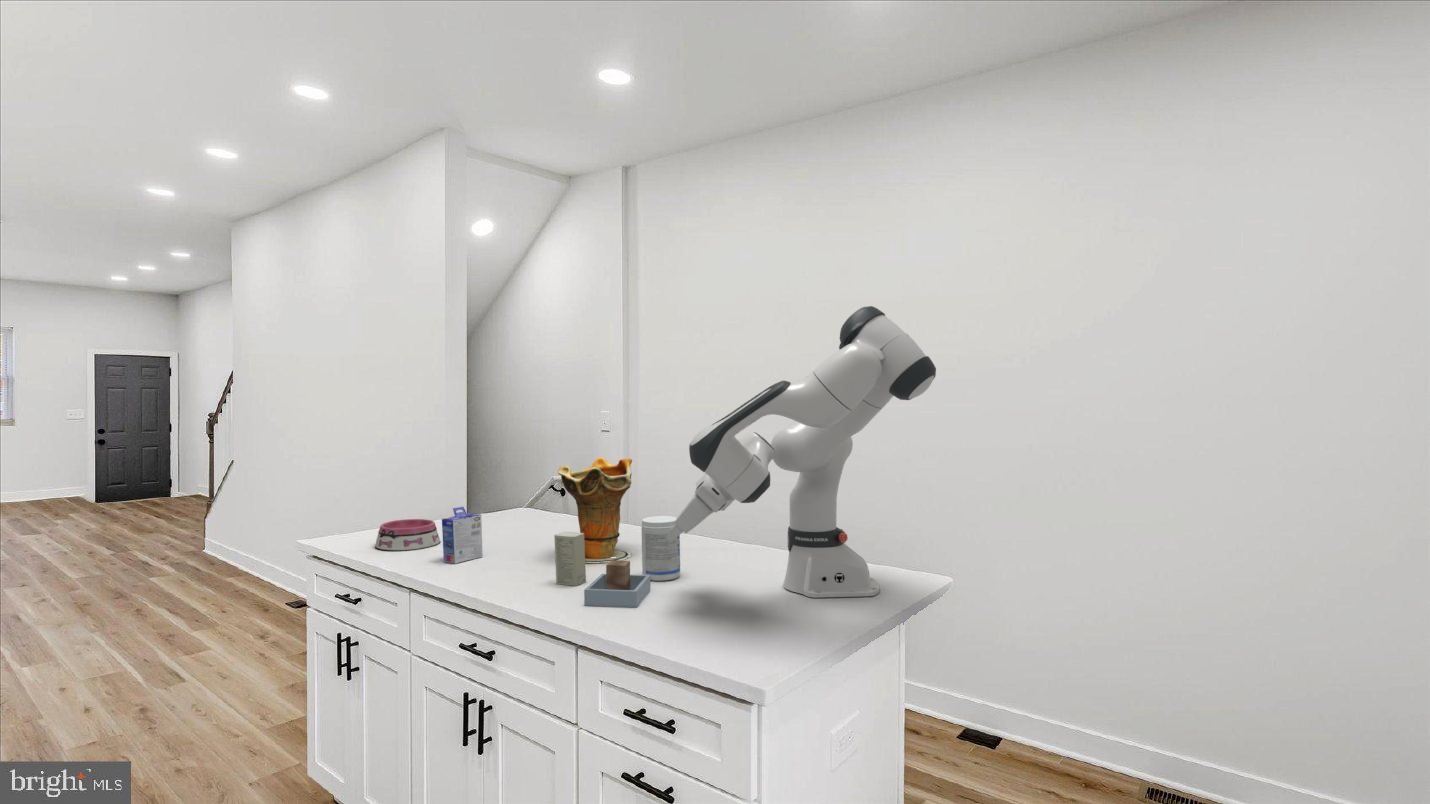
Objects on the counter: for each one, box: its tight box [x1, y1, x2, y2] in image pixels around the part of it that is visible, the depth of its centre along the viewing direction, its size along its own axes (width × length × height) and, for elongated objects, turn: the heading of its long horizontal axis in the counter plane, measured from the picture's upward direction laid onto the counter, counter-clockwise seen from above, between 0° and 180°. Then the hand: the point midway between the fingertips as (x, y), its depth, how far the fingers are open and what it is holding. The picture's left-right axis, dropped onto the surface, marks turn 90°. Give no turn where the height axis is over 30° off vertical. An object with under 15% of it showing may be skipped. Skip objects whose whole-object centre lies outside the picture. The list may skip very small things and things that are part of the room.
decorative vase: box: [557, 456, 633, 564], centre depth 207 cm, size 21×23×28 cm
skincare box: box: [553, 531, 587, 587], centre depth 180 cm, size 6×4×12 cm
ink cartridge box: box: [441, 506, 484, 565], centre depth 205 cm, size 10×6×14 cm, turn 148°
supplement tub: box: [641, 515, 681, 582], centre depth 185 cm, size 10×10×15 cm
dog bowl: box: [374, 518, 441, 553], centre depth 225 cm, size 18×19×7 cm
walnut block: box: [605, 560, 631, 590], centre depth 168 cm, size 4×4×8 cm
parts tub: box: [583, 573, 652, 608], centre depth 168 cm, size 12×14×4 cm
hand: (672, 534), depth 165 cm, fingers open, 8 cm apart
